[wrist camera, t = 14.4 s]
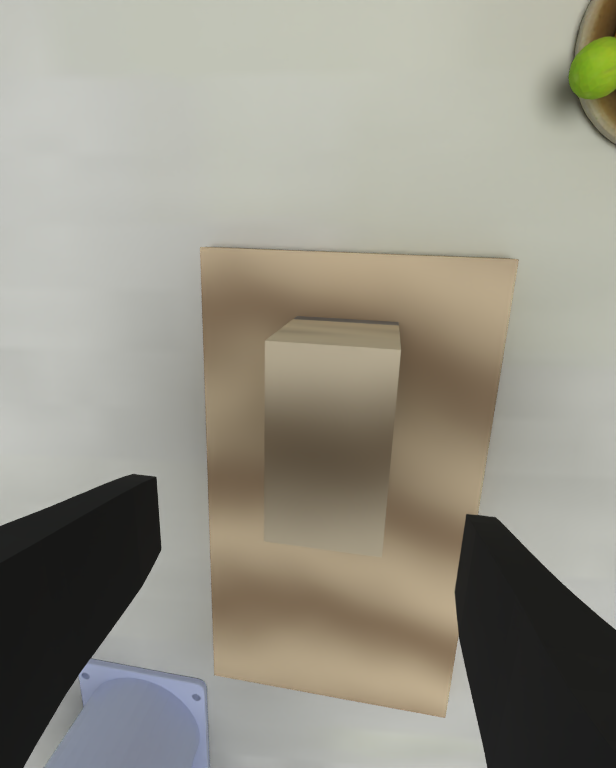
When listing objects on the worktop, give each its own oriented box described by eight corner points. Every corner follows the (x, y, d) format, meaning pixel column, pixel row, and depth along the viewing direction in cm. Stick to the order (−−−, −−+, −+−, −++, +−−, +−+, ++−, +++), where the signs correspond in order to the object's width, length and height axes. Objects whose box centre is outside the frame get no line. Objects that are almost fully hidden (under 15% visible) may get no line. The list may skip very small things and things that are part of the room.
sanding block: (384, 483, 20) (381, 557, 15) (293, 473, 21) (263, 541, 16) (398, 322, 18) (400, 350, 13) (296, 316, 19) (265, 340, 14)
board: (442, 695, 24) (445, 718, 23) (222, 656, 26) (214, 675, 25) (510, 258, 18) (518, 259, 17) (211, 247, 20) (199, 247, 19)
